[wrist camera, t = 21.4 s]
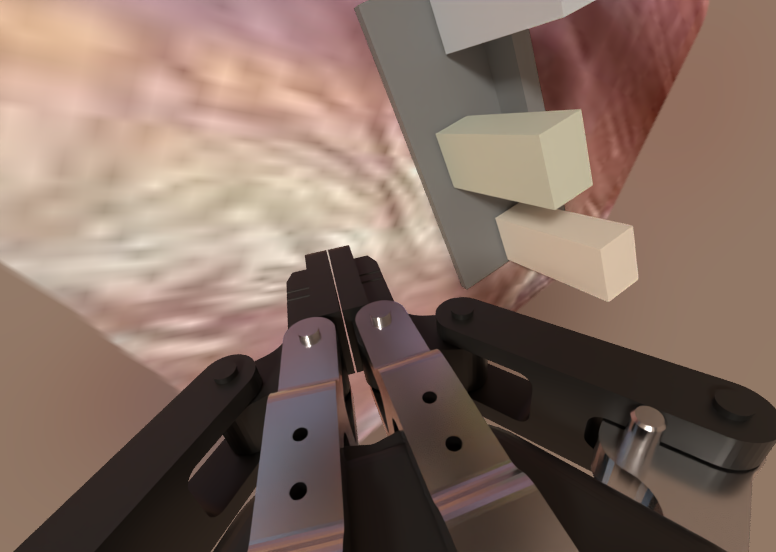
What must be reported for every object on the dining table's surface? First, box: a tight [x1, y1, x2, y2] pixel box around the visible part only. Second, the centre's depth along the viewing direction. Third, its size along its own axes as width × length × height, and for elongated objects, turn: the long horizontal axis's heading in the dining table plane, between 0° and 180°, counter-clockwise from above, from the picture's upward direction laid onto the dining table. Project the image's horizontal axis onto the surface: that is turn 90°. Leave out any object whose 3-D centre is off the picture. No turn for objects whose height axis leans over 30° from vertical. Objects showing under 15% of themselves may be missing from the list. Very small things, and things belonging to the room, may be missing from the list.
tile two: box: [436, 109, 593, 210], centre depth 35 cm, size 4×6×14 cm
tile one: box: [495, 202, 638, 302], centre depth 41 cm, size 4×6×14 cm
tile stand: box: [354, 0, 565, 289], centre depth 40 cm, size 13×31×5 cm, turn 25°
